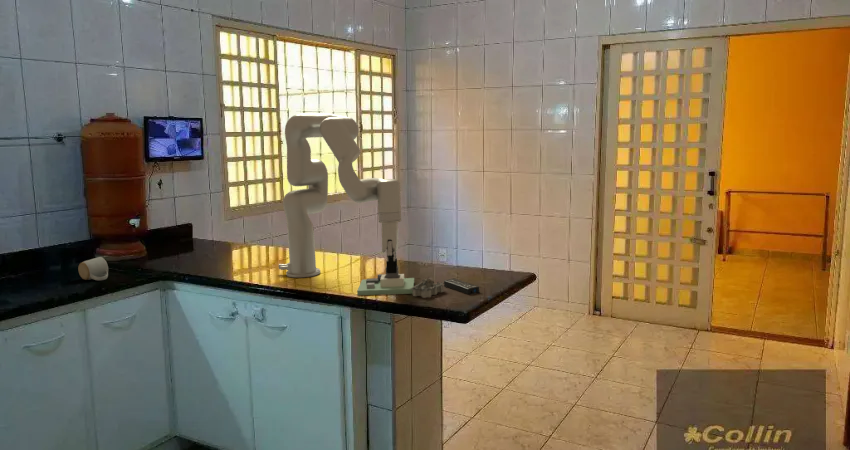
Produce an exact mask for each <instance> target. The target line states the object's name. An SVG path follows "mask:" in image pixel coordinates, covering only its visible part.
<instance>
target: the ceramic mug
mask: <svg viewBox="0 0 850 450" xmlns="http://www.w3.org/2000/svg"><path fill="white" fill-rule="evenodd" d="M77 267H78V268H77V269H78V274H79V276H80V278H81V279H82V280H85V281H88V280H95V281H104V280H105V281H106V280H107V279H108V277H109V266H108V263H107V261H106V260H105V258H104V257H102V256H97V257H95V258H91V259H87V260H84V261H82V262H80V263H79V265H78V266H77Z"/></svg>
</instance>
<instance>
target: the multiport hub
mask: <svg viewBox="0 0 850 450" xmlns="http://www.w3.org/2000/svg"><path fill="white" fill-rule="evenodd" d="M443 283H444V284H443V286H444V287H446V288H448V289H452V290H454V291H457V292H459V293H463V294H466V295H469V296H470V295H474V294H479V293H480V286H478V285H475V284H472V283H469V282H466V281H463V280H460V279H457V278H449V279H444V280H443Z"/></svg>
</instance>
